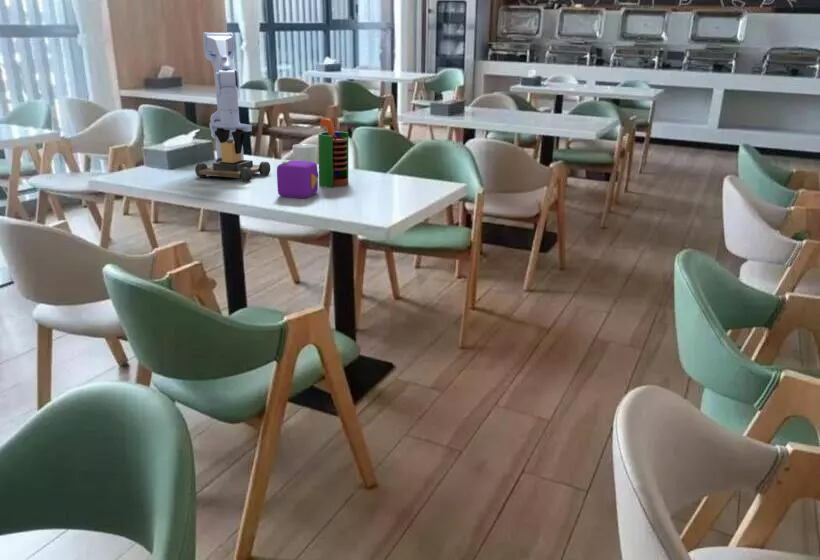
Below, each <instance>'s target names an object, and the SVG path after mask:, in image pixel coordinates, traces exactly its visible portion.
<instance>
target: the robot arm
mask: <svg viewBox="0 0 820 560" xmlns="http://www.w3.org/2000/svg"><path fill="white" fill-rule="evenodd" d="M234 37H235V36H234V34H233V33H232V32H206V31H204V32H203V33H202V42H203V43H202V44H203V51H204V56H205V59H206V60H208V61H210V63H211V65H212V68H213V74H214V75H213V76H214V77H213V78H214V86H215V88H214V89H215V97H216V106H217V110H216V111H215V112H214V113H212V114H211V115H210V122H209V123H208V125H209V129H210V133H211V134H210V135H211V138H212V139H214V140H215V147H216V160H217V159H218V158H222V153H221V143H223V142H227V139H234V143H235V152H236V154H239V153H241V158H242V160H245V157H244V145H243V143H244V141H245V138H246V136H247V134H248V133H249V132H252V131H253V128H252V127H253V126H252V125H253V124H247V123H241V122H240V114H239V98H238V97H239V96H238V95H239V94H238V89H239V83H240V82H239V74H238V70H237V69H236V68H235V67H234V61H233V59H234V55H235V38H234ZM212 166H213V163H212Z"/></svg>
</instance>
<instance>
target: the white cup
mask: <svg viewBox="0 0 820 560" xmlns="http://www.w3.org/2000/svg"><path fill="white" fill-rule="evenodd" d="M292 155H293V160H295V161H309V162H314V163H316V164H317V162H318V145H317V144H314V143H297V144H293V145H292ZM317 165H318V164H317Z"/></svg>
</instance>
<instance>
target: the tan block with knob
mask: <svg viewBox="0 0 820 560" xmlns="http://www.w3.org/2000/svg"><path fill="white" fill-rule="evenodd" d="M221 153H222V162H228V163H234V162H238V161H241V160H242V158H241V153H239V154H236V152H235V143H234V139H227V142H223V143H221Z"/></svg>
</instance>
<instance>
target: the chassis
mask: <svg viewBox="0 0 820 560" xmlns="http://www.w3.org/2000/svg"><path fill="white" fill-rule="evenodd" d="M212 164H213V165H212V166H210V167H208V165H207V164H206V163H203V162H198V163H197V164H196V165H195V169H194V170H195V171H194V172H195V175H196V177H198V178H205V177H207V176H214V177H224V178H235V179H240V180H241V181H242V182H245V183H246V182H250V181H251V180H252V178H253V175H254V174H257V173H259V174H260V175H261V176H269V174H271V173H270V172H271V165H270V163H269V162H268V161H261V162H260V163H259V164H254V163H253V160H250V159H249V160H248V159H244V160H241V161H238V162H234V163H228V162H222V158H218V159H217V158H216V162H213V163H212Z"/></svg>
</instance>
